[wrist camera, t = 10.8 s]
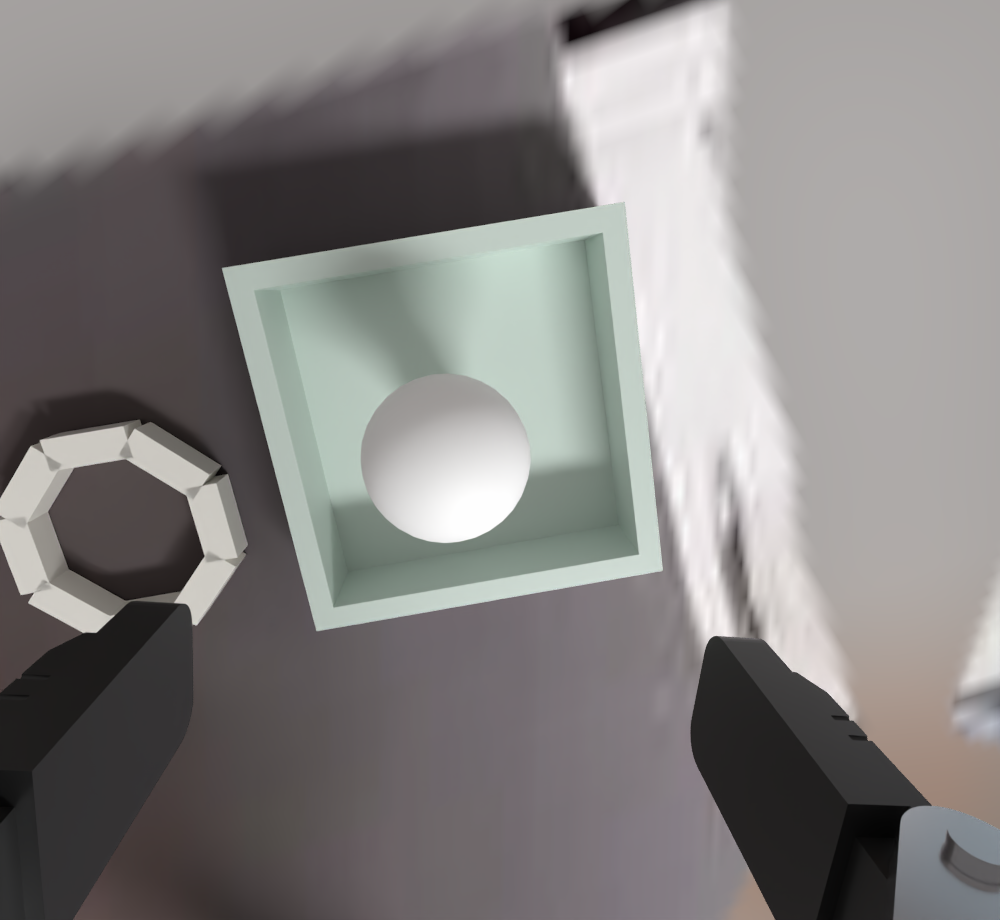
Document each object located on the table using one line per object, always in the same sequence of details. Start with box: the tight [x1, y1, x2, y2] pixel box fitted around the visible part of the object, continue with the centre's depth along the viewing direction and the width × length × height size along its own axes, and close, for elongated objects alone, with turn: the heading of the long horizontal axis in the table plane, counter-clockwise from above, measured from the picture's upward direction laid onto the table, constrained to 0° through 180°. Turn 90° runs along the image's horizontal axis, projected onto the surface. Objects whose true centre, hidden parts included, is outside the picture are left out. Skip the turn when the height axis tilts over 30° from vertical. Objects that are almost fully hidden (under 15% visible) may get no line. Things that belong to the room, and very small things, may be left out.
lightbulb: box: [360, 373, 531, 543], centre depth 26 cm, size 6×6×11 cm
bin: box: [222, 202, 663, 631], centre depth 30 cm, size 16×16×4 cm
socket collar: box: [0, 419, 248, 633], centre depth 32 cm, size 10×10×2 cm
